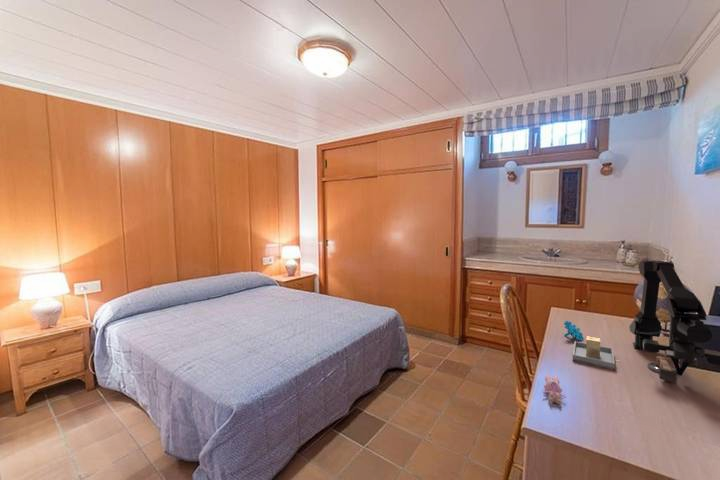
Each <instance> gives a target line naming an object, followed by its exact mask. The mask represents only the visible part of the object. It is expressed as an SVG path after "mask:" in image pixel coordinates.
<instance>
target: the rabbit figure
mask: <svg viewBox="0 0 720 480" xmlns="http://www.w3.org/2000/svg"><path fill="white" fill-rule="evenodd" d="M544 380H545V382H546V383H545V384H544V386H543V388H544V389H545V390H544V391H542V393H543V394H548V397H547V400H548V402H549V406H553V403H556V404H557V405H558V407H559V408H560V409H561V408H563V407H562V397H563V398H566V397H567V396H566V395H565V394H562V392H563V389H562V387H561V386H560V379H559V378H558V377H557V376H556V375H555V376H552V377H551V376H550V375H549V374H546V375H545V376H544Z"/></svg>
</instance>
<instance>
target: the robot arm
mask: <svg viewBox="0 0 720 480" xmlns="http://www.w3.org/2000/svg"><path fill="white" fill-rule="evenodd" d="M638 271H639V274H640V276H641V277H642V279H643V287H642V297H641V305H640V311H639V312H638V313H636V314H635V315H634V319H633V320H632V322H631V323H630V324H629V331H630V333H631V334H632V335H634V341H633V342H632V345H633V346H632V347H633V348H634V349H637V350H640V351H641V350H642V351H645V352H649V353H654V354H657V353H659V352H660V351H662V352H664V354H665V355H664V356H665V358H668V359H669V358H670V360H671V361H672V364H673V366H674V369H676V372H677V376H680V377H681V376H682V375H683V374H684V372H685V371H686V369H687V368H688V367H689V366H690V365H691V364H693V363H695V364H696V363H698V360H697V359H699V360H702V359H703V360H704V359H705V361H706V362H707V363H709V364H712V365H716V366H720V352H719V351H718V350H717V351H716V350H710V349H705V348H704V347H702V346H696V345H695V343H699V344H702V343H704V344H705V343H707V342H709V341H710V340H711V339H712V338H713V332H712V331H711V329H710V328H709V327H708V326H705V323H704V321H707V312H706V311H705V309H704V306H703V303H702V302H701V300H700V299H698V297H697V296H696V295H695V293H694V292H691V291H690V290H688V289H687V288H686V287H685V285H684V284H683V282H682V280H681V279H680V277H679V275H678V273H677V272H676V269H675V265H674V263H673V262H671V261H664V260H654V259H653V260H652V259H651V260H649V259H643V260H642V261H640V262H639V263H638ZM660 283H661V284H662V286H663V287H664V289H665V291H666V294H667V296H666V297H665V305H666V308H667V310H668V314H669V316H670V317H669V318H670V319H669V335H668V336H669V337H668V338H669V339H668V345H665V344H659V341H658V340H656V339H655V340H654V338H655V337H656V338H660V336H661V332H662V328H663V327H662V323H661V321H660V320H659V318H658V317H657V314H656V313H657V307H658V298H659V292H660V291H659V290H660ZM679 361H680V362H679Z"/></svg>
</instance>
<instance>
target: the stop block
mask: <svg viewBox="0 0 720 480" xmlns="http://www.w3.org/2000/svg"><path fill="white" fill-rule="evenodd" d="M585 343H586V356H589V357H593V358H598V359H600V346H601V338H600V337H599V338H598V337H593V336H589V335H587V336H586V342H585Z"/></svg>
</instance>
